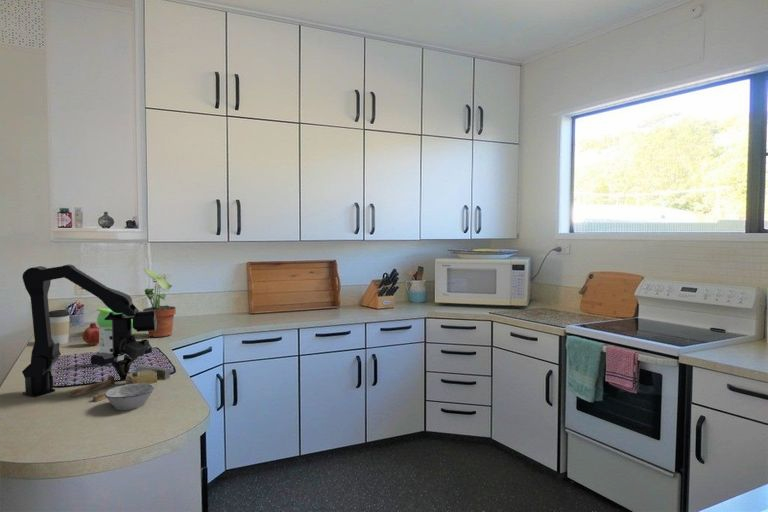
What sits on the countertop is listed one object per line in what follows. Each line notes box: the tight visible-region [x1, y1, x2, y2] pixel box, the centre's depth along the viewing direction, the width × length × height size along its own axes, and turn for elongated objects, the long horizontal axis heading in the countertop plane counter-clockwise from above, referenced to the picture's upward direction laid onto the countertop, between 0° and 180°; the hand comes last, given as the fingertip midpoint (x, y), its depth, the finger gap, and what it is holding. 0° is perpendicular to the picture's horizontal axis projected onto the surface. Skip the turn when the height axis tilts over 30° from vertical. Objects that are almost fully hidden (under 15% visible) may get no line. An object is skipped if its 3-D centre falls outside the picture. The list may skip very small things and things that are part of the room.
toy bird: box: [96, 306, 133, 331], centre depth 250 cm, size 18×17×15 cm
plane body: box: [69, 375, 137, 402], centre depth 159 cm, size 14×12×2 cm
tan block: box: [125, 370, 158, 385], centre depth 168 cm, size 8×6×4 cm
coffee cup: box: [49, 309, 71, 345], centre depth 228 cm, size 9×9×15 cm
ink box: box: [98, 326, 120, 366], centre depth 192 cm, size 4×8×15 cm, turn 90°
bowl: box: [104, 383, 155, 411], centre depth 147 cm, size 13×13×5 cm
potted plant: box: [142, 268, 177, 338], centre depth 241 cm, size 16×15×35 cm
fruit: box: [81, 322, 99, 346], centre depth 223 cm, size 8×8×10 cm
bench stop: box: [135, 364, 171, 380], centre depth 176 cm, size 2×14×3 cm, turn 65°
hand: (123, 379), depth 165 cm, fingers closed
